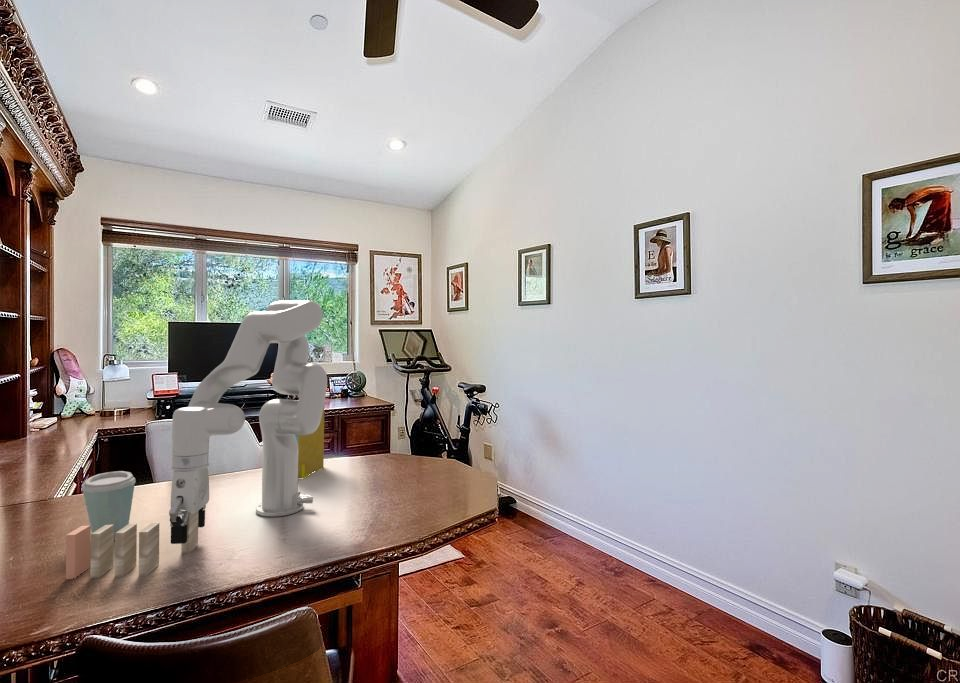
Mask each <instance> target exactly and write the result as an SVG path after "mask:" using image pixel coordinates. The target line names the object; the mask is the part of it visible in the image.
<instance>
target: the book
mask: <svg viewBox="0 0 960 683" xmlns="http://www.w3.org/2000/svg"><path fill="white" fill-rule="evenodd" d="M294 435H295V437H296V440H297V443H298V478H304V479H306V478H308V477H309V476H310V475H309V474H311V473H312V472H314V471H317V470H319V469H321V468H323V469H324V460H325V458H324V457H325V456H324V455H325V454H324V453H325V450H324V448H325V406H324V407H323V412H322V417H321V421H320V424H319V427H318V428H317V430H316V431H315V432H314V433H312V434H310V435H296V434H294ZM321 470H322V469H321ZM319 471H320V470H319ZM317 472H318V471H317ZM308 475H309V476H308ZM311 475H312V474H311ZM307 476H308V477H307ZM305 477H306V478H305Z"/></svg>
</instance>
